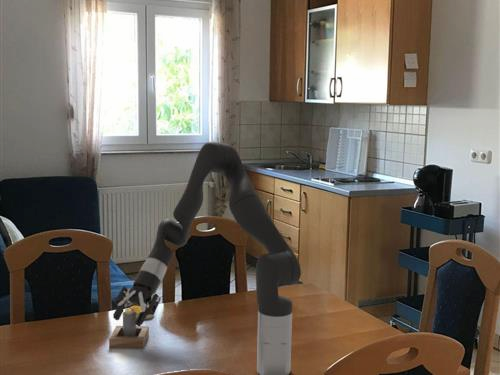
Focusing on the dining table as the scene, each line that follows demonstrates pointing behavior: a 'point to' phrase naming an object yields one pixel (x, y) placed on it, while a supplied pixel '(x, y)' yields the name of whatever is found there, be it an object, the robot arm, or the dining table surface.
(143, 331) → the socket
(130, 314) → the plug
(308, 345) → the dining table surface
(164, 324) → the dining table surface
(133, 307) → the bread roll
